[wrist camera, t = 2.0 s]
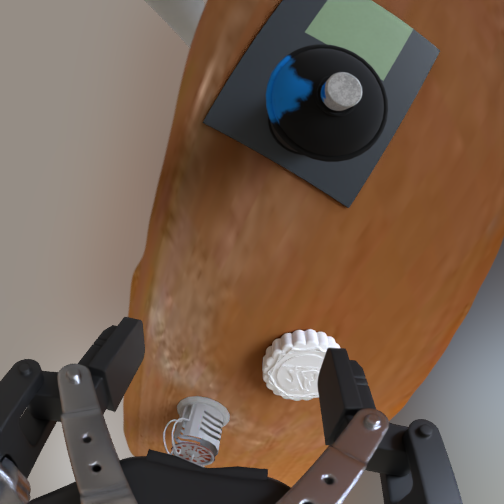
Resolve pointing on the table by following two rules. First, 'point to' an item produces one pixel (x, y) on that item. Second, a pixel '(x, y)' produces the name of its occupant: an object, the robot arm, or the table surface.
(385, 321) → the table surface
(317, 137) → the aerosol can
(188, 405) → the french press
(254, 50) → the board
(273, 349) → the mooncake
